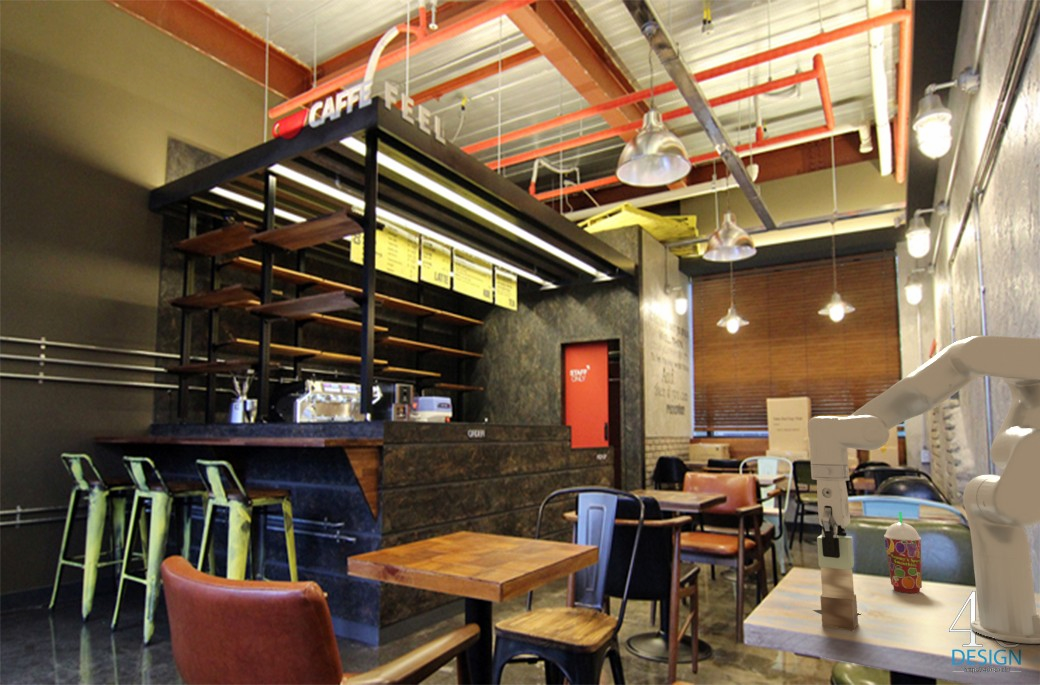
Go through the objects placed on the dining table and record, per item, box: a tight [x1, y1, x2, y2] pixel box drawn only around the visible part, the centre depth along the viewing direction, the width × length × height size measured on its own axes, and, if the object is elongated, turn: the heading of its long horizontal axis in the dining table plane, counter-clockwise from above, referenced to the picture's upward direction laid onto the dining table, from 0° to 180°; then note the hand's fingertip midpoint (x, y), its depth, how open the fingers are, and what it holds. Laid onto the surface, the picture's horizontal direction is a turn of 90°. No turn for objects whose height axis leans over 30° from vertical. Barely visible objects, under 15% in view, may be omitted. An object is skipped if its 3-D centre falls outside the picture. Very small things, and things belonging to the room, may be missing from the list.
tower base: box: [820, 593, 859, 631], centre depth 135 cm, size 6×6×6 cm
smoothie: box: [883, 511, 923, 594], centre depth 166 cm, size 8×8×20 cm
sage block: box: [816, 534, 855, 570], centre depth 137 cm, size 6×6×6 cm
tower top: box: [820, 567, 855, 600], centre depth 136 cm, size 6×6×6 cm
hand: (835, 553), depth 137 cm, fingers open, 9 cm apart
